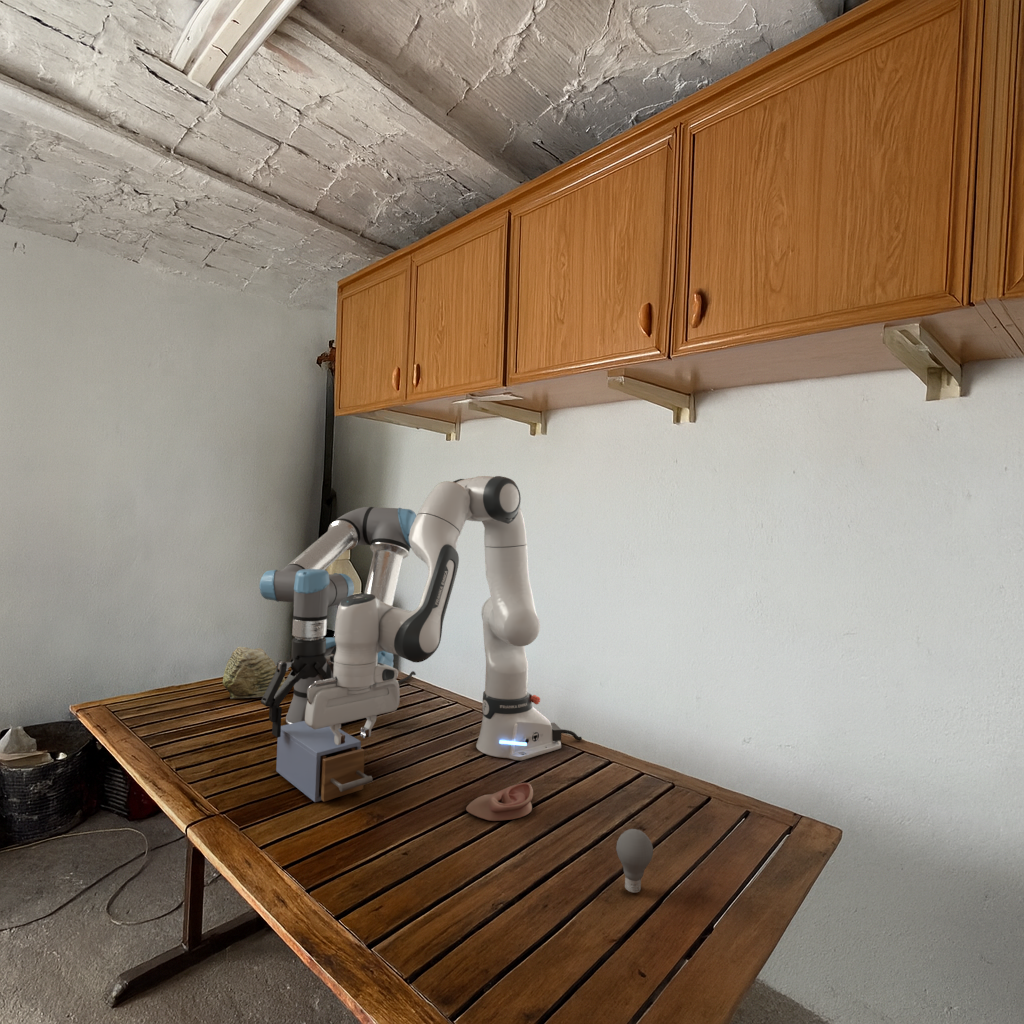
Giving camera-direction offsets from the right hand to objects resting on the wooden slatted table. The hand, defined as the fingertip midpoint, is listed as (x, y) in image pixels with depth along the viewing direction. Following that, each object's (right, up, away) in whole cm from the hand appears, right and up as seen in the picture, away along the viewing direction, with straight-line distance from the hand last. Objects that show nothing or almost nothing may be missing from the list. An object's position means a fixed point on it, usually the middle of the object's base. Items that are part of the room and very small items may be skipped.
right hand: (352, 740), depth 131 cm
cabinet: (-11, -13, +11) cm, 20 cm away
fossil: (-48, -10, +67) cm, 83 cm away
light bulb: (+53, -16, -25) cm, 61 cm away
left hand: (-15, -3, +15) cm, 21 cm away
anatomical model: (+30, -15, +1) cm, 34 cm away
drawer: (-7, -12, +7) cm, 15 cm away
